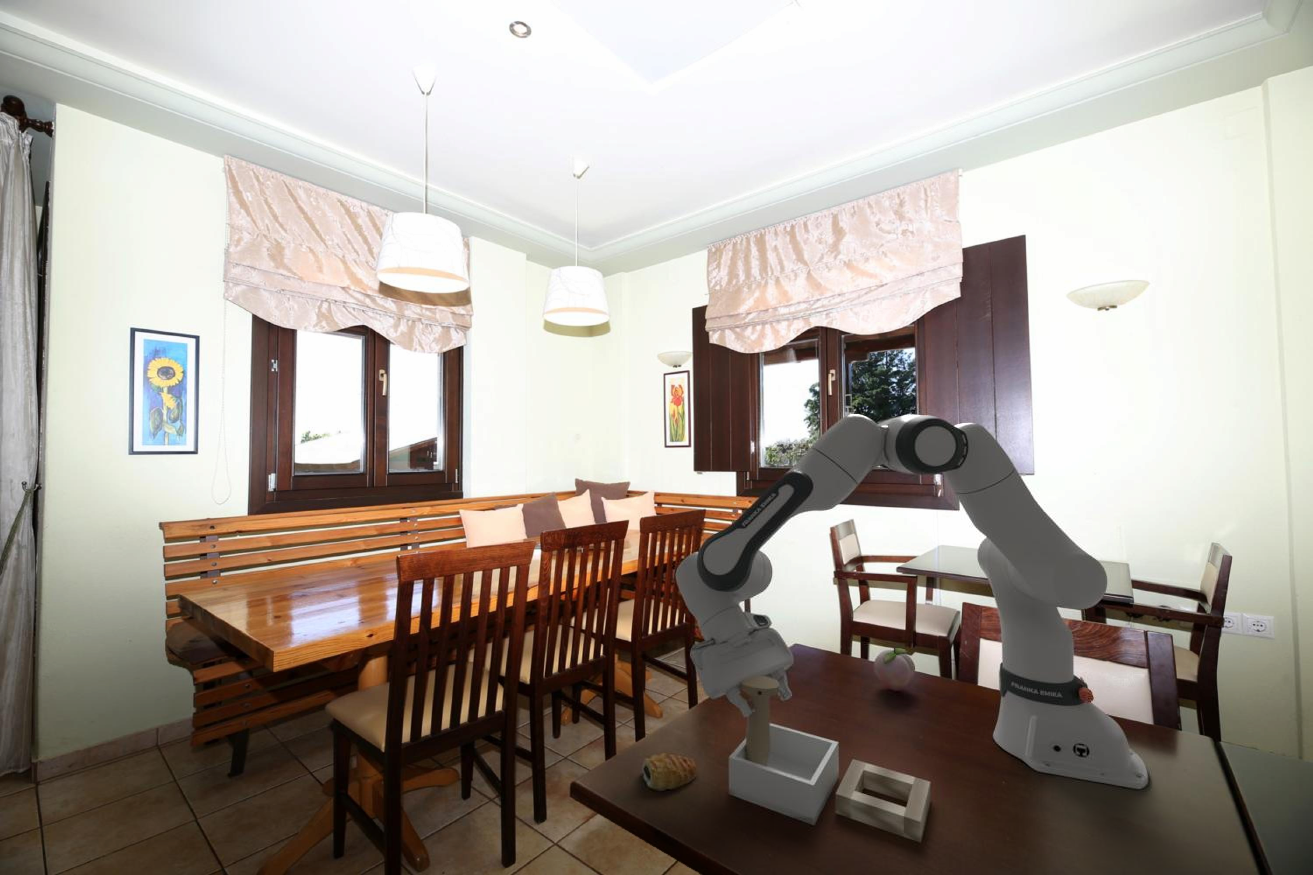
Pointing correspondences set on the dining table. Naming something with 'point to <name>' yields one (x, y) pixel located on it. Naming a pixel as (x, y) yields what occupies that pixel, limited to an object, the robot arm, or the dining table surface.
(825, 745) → the bin
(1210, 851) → the dining table surface
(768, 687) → the handle
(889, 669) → the decorative fruit
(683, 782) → the pastry
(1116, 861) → the dining table surface
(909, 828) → the socket block
